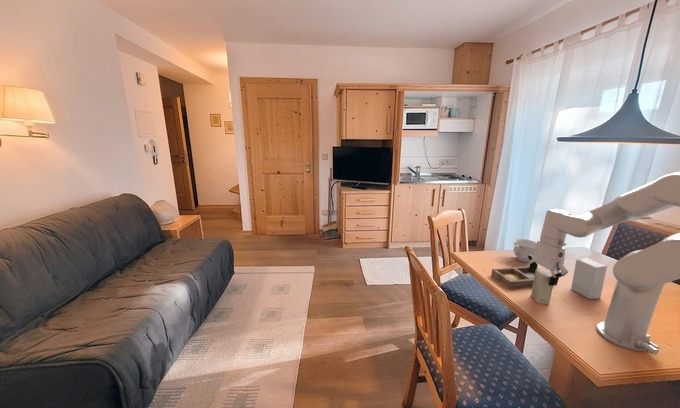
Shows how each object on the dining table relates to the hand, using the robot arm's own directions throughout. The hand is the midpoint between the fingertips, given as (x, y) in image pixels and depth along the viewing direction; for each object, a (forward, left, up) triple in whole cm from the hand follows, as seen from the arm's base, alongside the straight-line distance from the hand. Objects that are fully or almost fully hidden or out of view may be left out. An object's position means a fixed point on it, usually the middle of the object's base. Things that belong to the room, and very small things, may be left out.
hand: (541, 278), depth 109 cm
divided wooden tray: (+14, -5, -10) cm, 18 cm away
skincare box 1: (-1, 0, -10) cm, 10 cm away
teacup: (+32, -21, -10) cm, 40 cm away
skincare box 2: (0, -23, -10) cm, 25 cm away
